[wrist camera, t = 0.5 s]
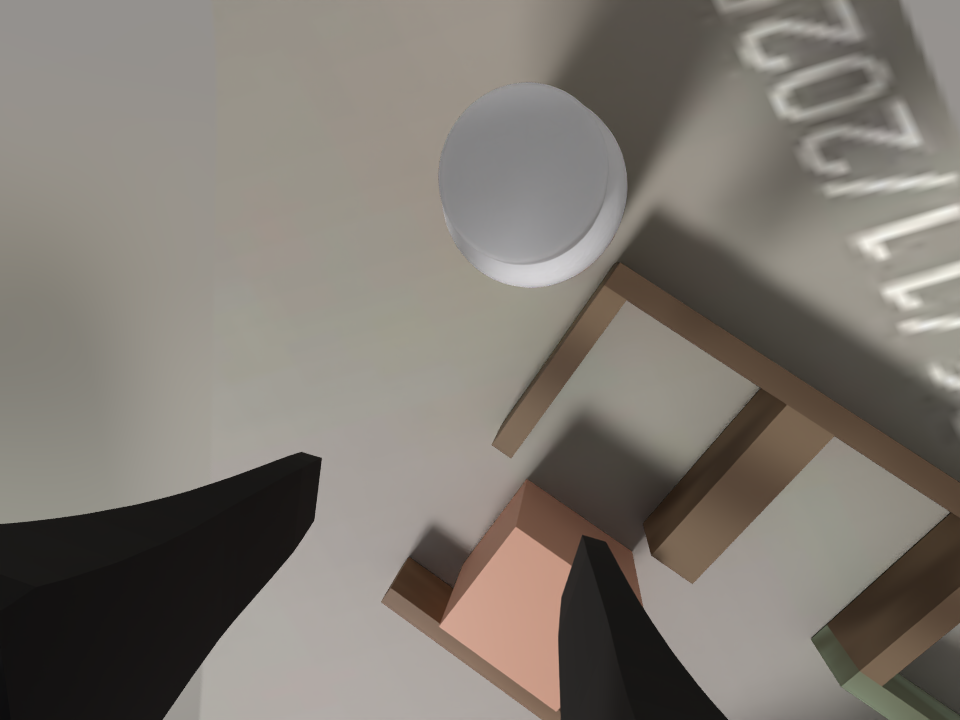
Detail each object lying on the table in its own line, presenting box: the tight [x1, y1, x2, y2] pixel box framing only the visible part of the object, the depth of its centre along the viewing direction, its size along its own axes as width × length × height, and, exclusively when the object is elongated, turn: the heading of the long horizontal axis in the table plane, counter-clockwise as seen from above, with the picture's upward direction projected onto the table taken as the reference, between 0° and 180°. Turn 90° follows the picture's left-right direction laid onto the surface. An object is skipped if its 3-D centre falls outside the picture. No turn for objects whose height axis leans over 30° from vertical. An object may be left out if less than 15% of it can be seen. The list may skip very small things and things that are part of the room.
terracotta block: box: [439, 479, 643, 712], centre depth 21 cm, size 6×6×4 cm
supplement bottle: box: [438, 82, 627, 288], centre depth 15 cm, size 5×5×10 cm
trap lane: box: [381, 263, 960, 720], centre depth 20 cm, size 19×25×2 cm
